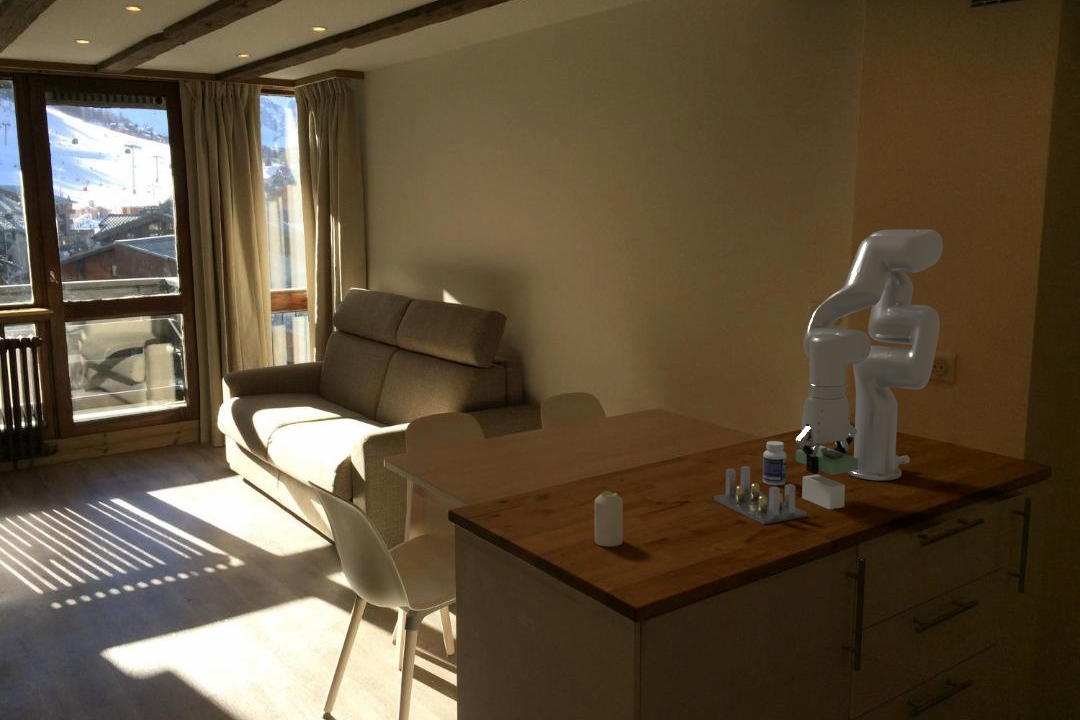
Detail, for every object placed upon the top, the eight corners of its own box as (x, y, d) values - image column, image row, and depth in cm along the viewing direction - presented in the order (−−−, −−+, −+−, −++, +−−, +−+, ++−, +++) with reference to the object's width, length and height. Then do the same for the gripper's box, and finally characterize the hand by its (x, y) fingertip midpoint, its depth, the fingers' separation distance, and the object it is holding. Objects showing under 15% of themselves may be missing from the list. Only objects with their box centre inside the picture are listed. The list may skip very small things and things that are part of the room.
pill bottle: (786, 486, 212) (787, 446, 210) (763, 485, 213) (764, 445, 211) (785, 479, 217) (786, 440, 215) (762, 479, 218) (763, 439, 216)
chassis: (754, 493, 207) (754, 464, 205) (806, 516, 190) (807, 484, 189) (713, 500, 202) (714, 470, 201) (763, 524, 186) (764, 491, 185)
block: (816, 495, 204) (816, 474, 203) (844, 506, 196) (844, 484, 195) (802, 498, 203) (802, 476, 202) (829, 509, 194) (830, 487, 194)
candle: (592, 537, 180) (592, 489, 178) (620, 536, 180) (620, 488, 179) (596, 547, 174) (596, 498, 173) (624, 546, 175) (624, 496, 173)
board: (820, 455, 206) (820, 441, 205) (858, 469, 195) (858, 455, 194) (795, 460, 203) (795, 446, 202) (832, 475, 192) (832, 460, 192)
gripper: (846, 383, 202) (845, 458, 206) (783, 393, 196) (783, 471, 199) (870, 389, 196) (869, 467, 199) (806, 400, 189) (805, 481, 192)
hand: (826, 468), depth 199 cm, fingers closed on board, 7 cm apart
